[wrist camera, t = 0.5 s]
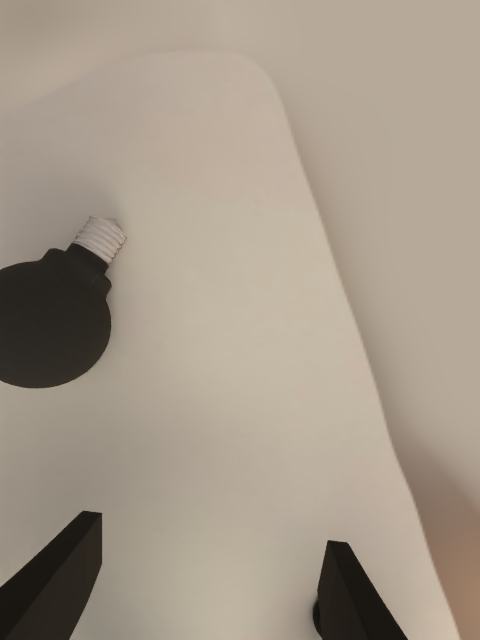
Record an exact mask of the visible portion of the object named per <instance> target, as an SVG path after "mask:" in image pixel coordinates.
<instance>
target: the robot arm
mask: <svg viewBox="0 0 480 640" xmlns="http://www.w3.org/2000/svg"><path fill="white" fill-rule="evenodd" d="M101 565H102V513H98V512H90V511H82V512H81V513H80V514H79V515H78V516H77V517H76V518H74V519H73V520H72V521H71V522H70V523H69V524H68V525H67V526H66V527H65V528H64V529H63V530H62V531H61V532H60V533H59V534H58V535H57V536H56V537H55V538H54V539H53V540H52V541H51V542H50V543H49V544H48V545H47V546H45V547H44V548H43V549H42V550H41V551H40V552H39V553H38V554H37V555H36V556H35V557H34V558H33V559H31V560H30V561H29V562H28V563H27V564H26V565H25V566H24V567H23V568H22V569H21V570H19V571H18V572H17V573H16V574H15V575H14V576H13V577H12V578H11V579H9V580H8V581H7V582H6V583H5V584H4V585H2V586H1V587H0V640H69V639H70V637H71V635H72V633H73V631H74V629H75V627H76V625H77V623H78V621H79V619H80V617H81V614H82V612H83V610H84V608H85V606H86V604H87V602H88V599H89V597H90V594H91V592H92V589H93V586H94V584H95V581H96V579H97V576H98V573H99V571H100V568H101ZM317 592H318V601H319V611H320V619H321V627H322V634H323V639H324V640H408V639H407V637H406V636H405V634H404V633H403V631H402V630H401V628H400V627H399V625H398V624H397V622H396V621H395V619H394V618H393V616H392V614H391V613H390V611H389V610H388V608H387V607H386V605H385V604H384V602H383V601H382V599H381V597H380V596H379V594H378V593H377V591H376V589H375V588H374V586H373V584H372V583H371V581H370V579H369V578H368V576H367V574H366V573H365V571H364V569H363V568H362V566H361V564H360V563H359V561H358V559H357V557H356V556H355V554H354V552H353V551H352V549H351V547H350V546H349V544H348V543H346V542H338V541H330V540H328V542H327V546H326V551H325V556H324V561H323V565H322V570H321V575H320V579H319V584H318V589H317Z"/></svg>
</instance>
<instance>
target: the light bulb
mask: <svg viewBox="0 0 480 640" xmlns="http://www.w3.org/2000/svg"><path fill="white" fill-rule="evenodd" d="M79 234H80V235H77V236H76V239H75V240H73V243H71V245H70V246H69V248H68V249H67V250H66V251H63V250H59V249H56V248H51V249H49V250H48V251H47V253H46V254H45V255H44V256H43V258H42V259H40V260H39V261H33V262H24V263H18V264H15V265H12V266H9V267H6V268H3V269H1V270H0V380H1V381H3V382H5V383H8V384H11V385H15V386H19V387H24V388H49V387H54V386H58V385H61V384H65V383H67V382H70V381H72V380H74V379H76V378H78V377H79V376H81V375H82V374H84V373H86V372H87V371H88V370H89V369H90V368H91V367H93V366H94V364H95V363H96V362H97V361H98V360H99V359H100V357H101V356H102V354H103V352H104V351H105V349H106V347H107V344H108V341H109V338H110V332H111V315H110V311H109V307H108V305H107V302H106V295H107V293H108V292H109V290H110V288H111V286H112V285H111V282H110V281H109V279H108V278H107V277H106V276H104V274H105V272H106V270H107V269H108V267H109V262H110V263H111V262H112V258H115V253H118V249H120V248H121V244H124V240H126V239H127V237H126V235H125V234H124V232H123V230H122V229H121V227H120V226H119V224H118V223H117V221H116V220H115V219H110V218H105V217H100V216H90V217H89V220H88V221H86V225H84V226H83V230H81V231H80V233H79Z"/></svg>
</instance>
